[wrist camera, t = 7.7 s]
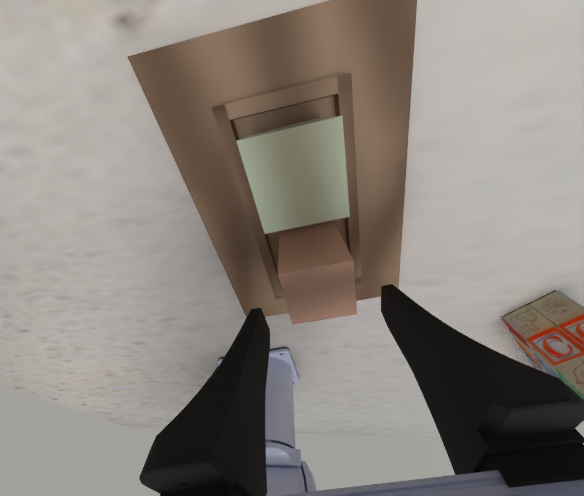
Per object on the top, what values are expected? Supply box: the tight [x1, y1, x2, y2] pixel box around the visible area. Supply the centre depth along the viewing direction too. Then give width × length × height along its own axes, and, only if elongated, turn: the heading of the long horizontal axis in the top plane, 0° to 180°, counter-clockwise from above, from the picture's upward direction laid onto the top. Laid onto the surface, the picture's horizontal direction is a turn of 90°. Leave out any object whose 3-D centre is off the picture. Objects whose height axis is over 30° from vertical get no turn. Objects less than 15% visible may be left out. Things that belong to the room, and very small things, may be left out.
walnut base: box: [128, 0, 417, 317], centre depth 15 cm, size 16×22×7 cm
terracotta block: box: [278, 220, 357, 324], centre depth 16 cm, size 4×4×6 cm
